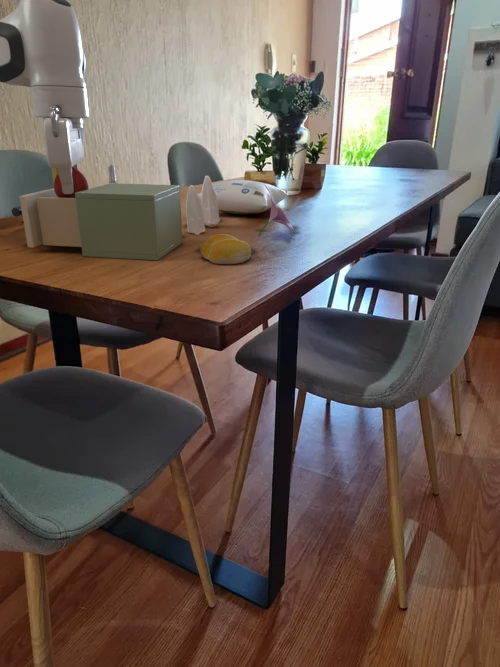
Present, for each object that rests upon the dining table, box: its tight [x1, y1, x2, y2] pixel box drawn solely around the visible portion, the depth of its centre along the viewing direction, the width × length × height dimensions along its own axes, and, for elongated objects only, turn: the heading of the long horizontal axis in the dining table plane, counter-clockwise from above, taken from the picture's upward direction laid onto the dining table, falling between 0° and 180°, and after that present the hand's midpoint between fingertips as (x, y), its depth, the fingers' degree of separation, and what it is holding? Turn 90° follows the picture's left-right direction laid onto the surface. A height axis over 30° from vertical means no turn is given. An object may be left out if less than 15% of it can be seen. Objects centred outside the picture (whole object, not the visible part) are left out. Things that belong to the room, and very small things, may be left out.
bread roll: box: [199, 233, 252, 265], centre depth 87 cm, size 8×9×4 cm
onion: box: [53, 167, 89, 198], centre depth 91 cm, size 6×6×8 cm
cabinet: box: [75, 182, 183, 261], centre depth 91 cm, size 14×14×11 cm
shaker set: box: [184, 175, 221, 236], centre depth 109 cm, size 12×4×11 cm, turn 156°
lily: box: [257, 187, 297, 239], centre depth 103 cm, size 12×12×10 cm
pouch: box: [197, 179, 289, 215], centre depth 129 cm, size 8×19×20 cm
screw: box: [107, 164, 118, 184], centre depth 112 cm, size 13×5×5 cm
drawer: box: [11, 187, 82, 249], centre depth 94 cm, size 17×13×9 cm
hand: (71, 191), depth 91 cm, fingers closed on onion, 6 cm apart
